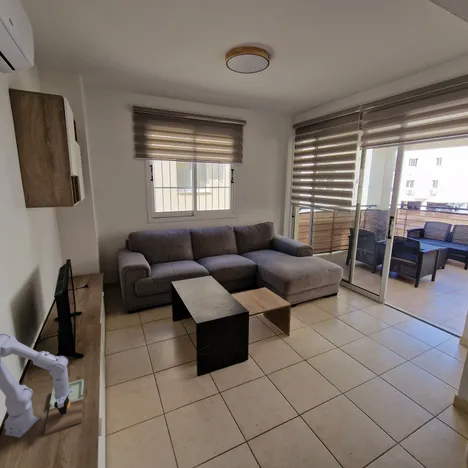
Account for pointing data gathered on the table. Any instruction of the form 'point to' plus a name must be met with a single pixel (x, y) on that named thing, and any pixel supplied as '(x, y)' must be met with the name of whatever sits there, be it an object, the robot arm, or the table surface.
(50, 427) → the lane
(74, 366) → the table surface
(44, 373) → the table surface
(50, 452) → the table surface
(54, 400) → the tray
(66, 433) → the table surface
